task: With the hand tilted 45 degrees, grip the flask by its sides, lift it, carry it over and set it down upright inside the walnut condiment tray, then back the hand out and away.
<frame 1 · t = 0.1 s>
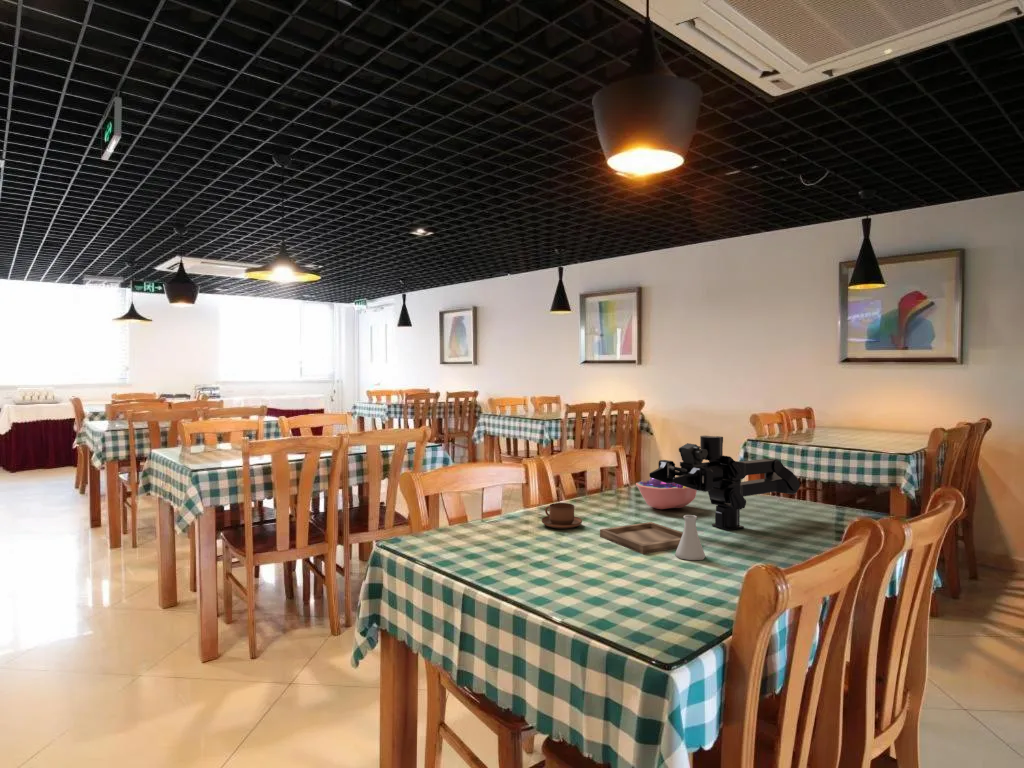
hand: (661, 477, 164), 17 cm above the table, tool horizontal, fingers open, 9 cm apart
cell model: (666, 509, 201), on the table
flask: (690, 557, 148), on the table
walnut tray: (647, 540, 162), on the table
cup and saucer: (561, 527, 178), on the table
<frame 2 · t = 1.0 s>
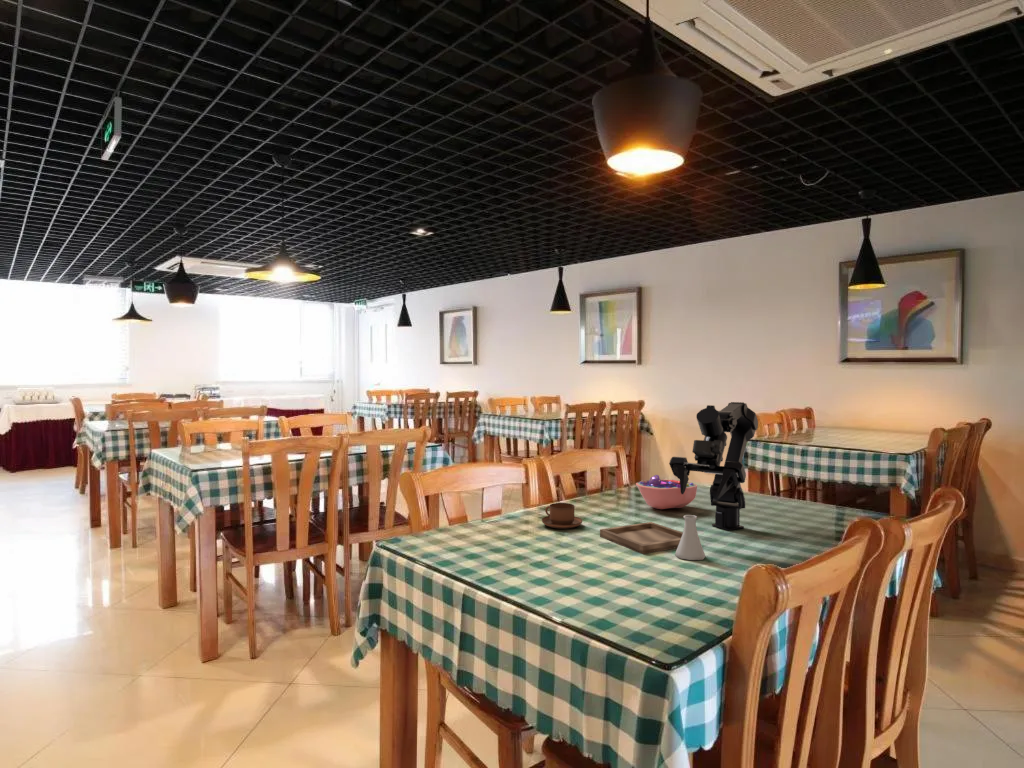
hand: (699, 495, 154), 14 cm above the table, tool tilted 45°, fingers open, 9 cm apart
nothing on the table moved.
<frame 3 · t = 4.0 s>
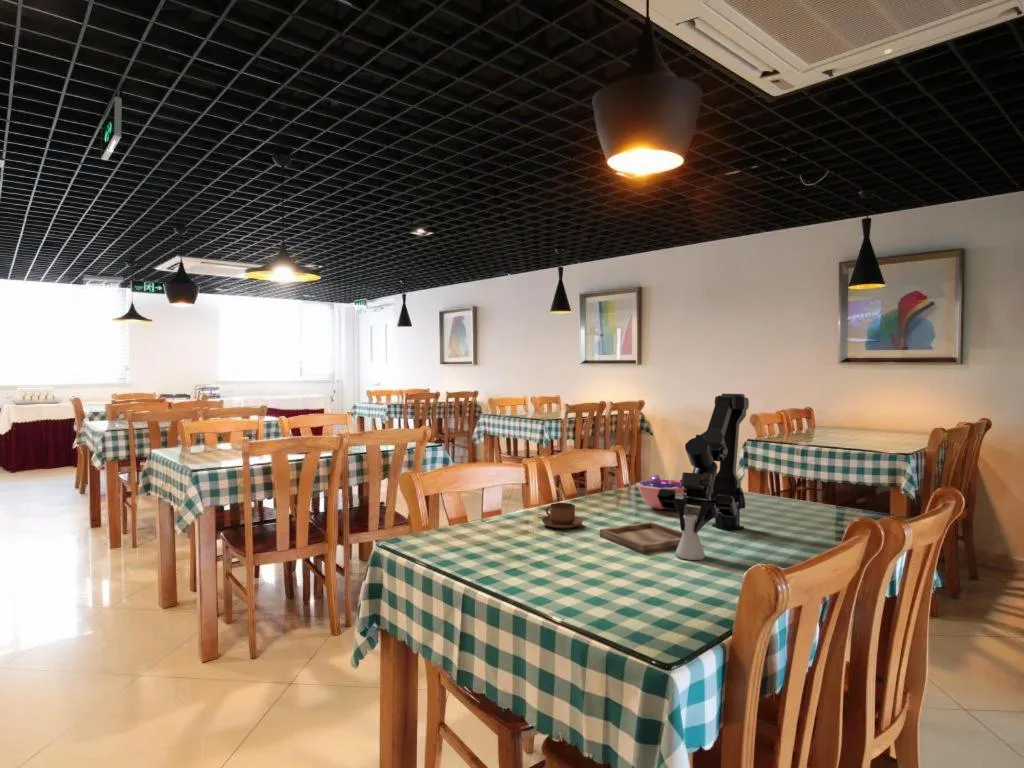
hand: (688, 531, 147), 7 cm above the table, tool tilted 45°, fingers closed on flask, 3 cm apart
flask: (690, 557, 148), on the table, touching gripper
everything else where it was.
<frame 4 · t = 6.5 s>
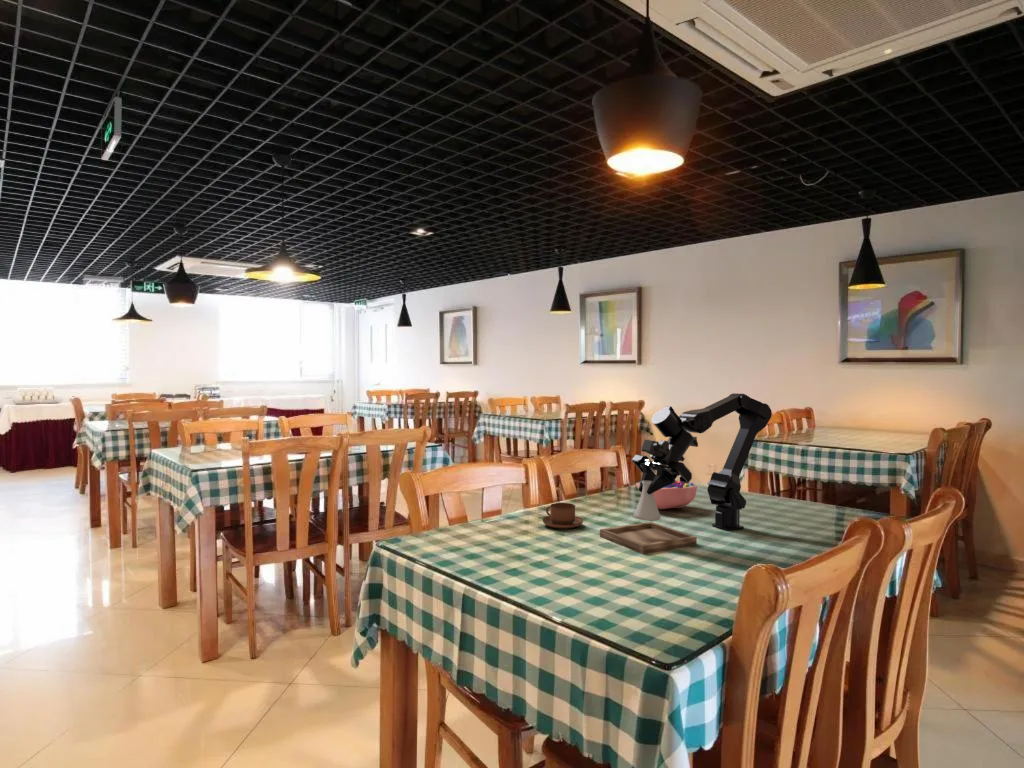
hand: (643, 492, 161), 13 cm above the table, tool tilted 45°, fingers closed on flask, 3 cm apart
flask: (646, 519, 162), point 6 cm above the table, touching gripper
everything else where it was.
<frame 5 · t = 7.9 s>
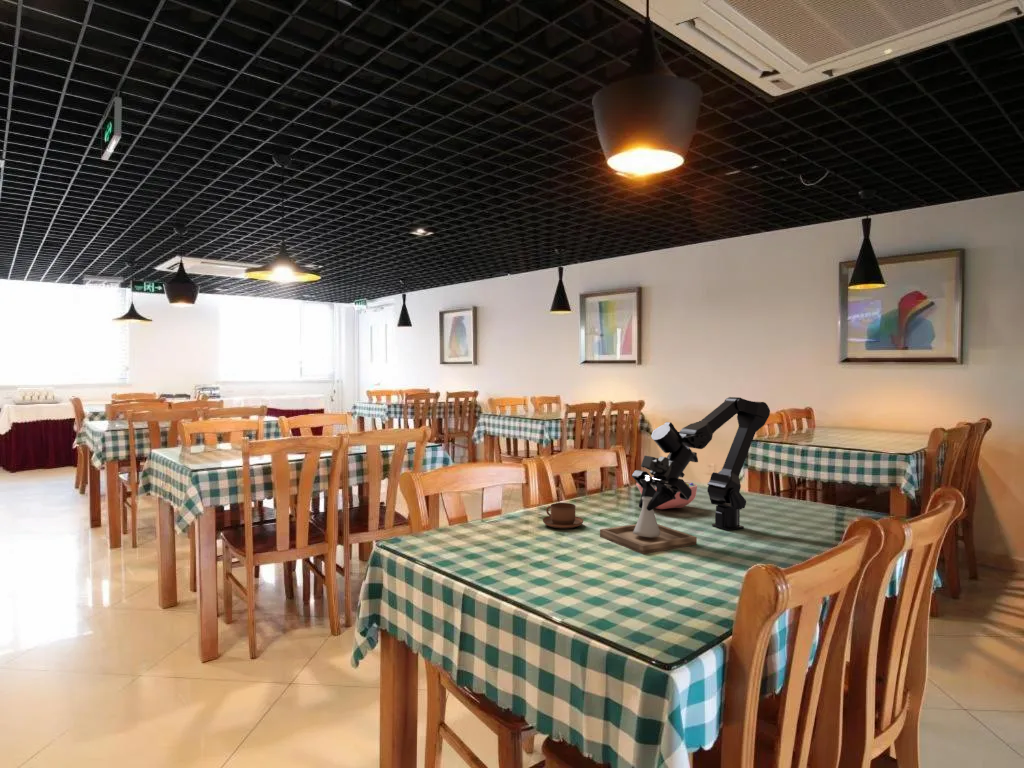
hand: (643, 508, 162), 9 cm above the table, tool tilted 45°, fingers closed on flask, 3 cm apart
flask: (646, 535, 162), point 1 cm above the table, touching gripper
everything else where it was.
when the fingers open (9 cm above the table, at t = 8.1 s): flask stays where it is, resting on walnut tray.
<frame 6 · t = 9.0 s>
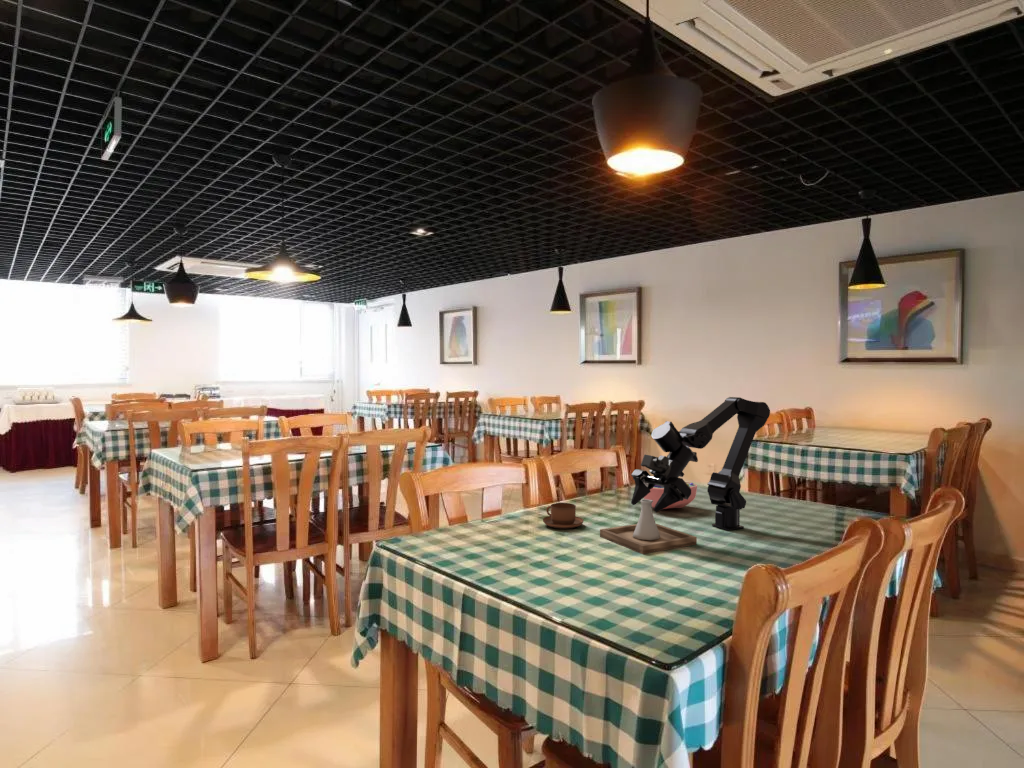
hand: (643, 507, 161), 9 cm above the table, tool tilted 45°, fingers open, 9 cm apart
flask: (646, 538, 162), point 1 cm above the table, touching walnut tray
everything else where it was.
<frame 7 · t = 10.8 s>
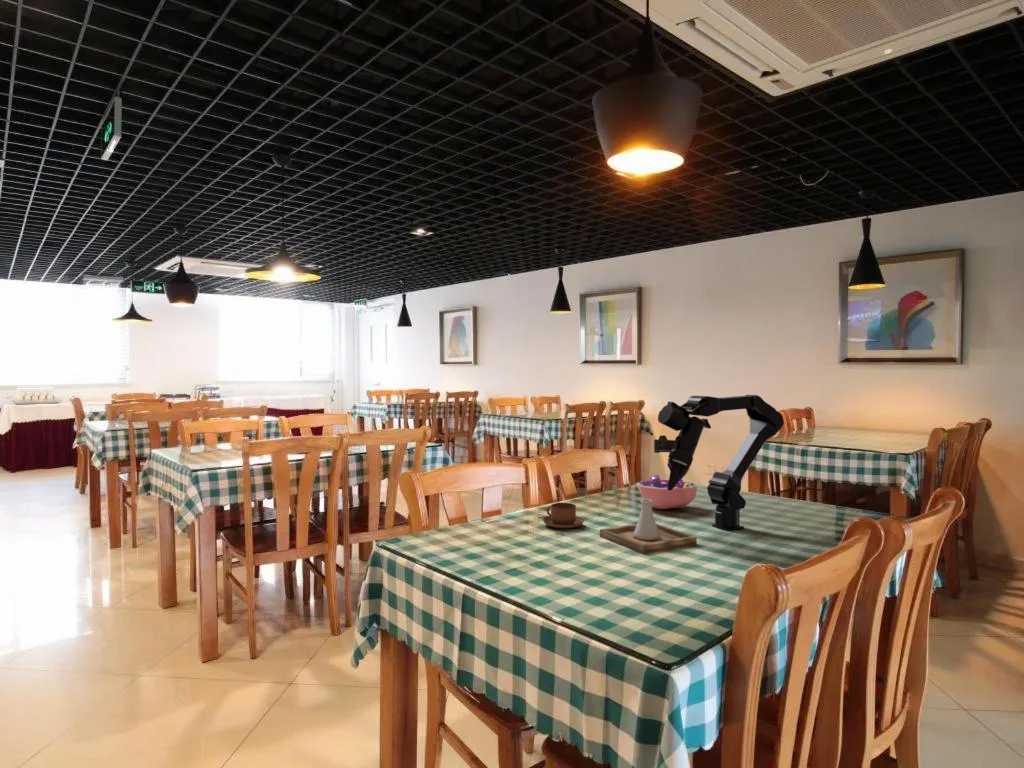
hand: (669, 488, 169), 13 cm above the table, tool tilted 25°, fingers open, 9 cm apart
nothing on the table moved.
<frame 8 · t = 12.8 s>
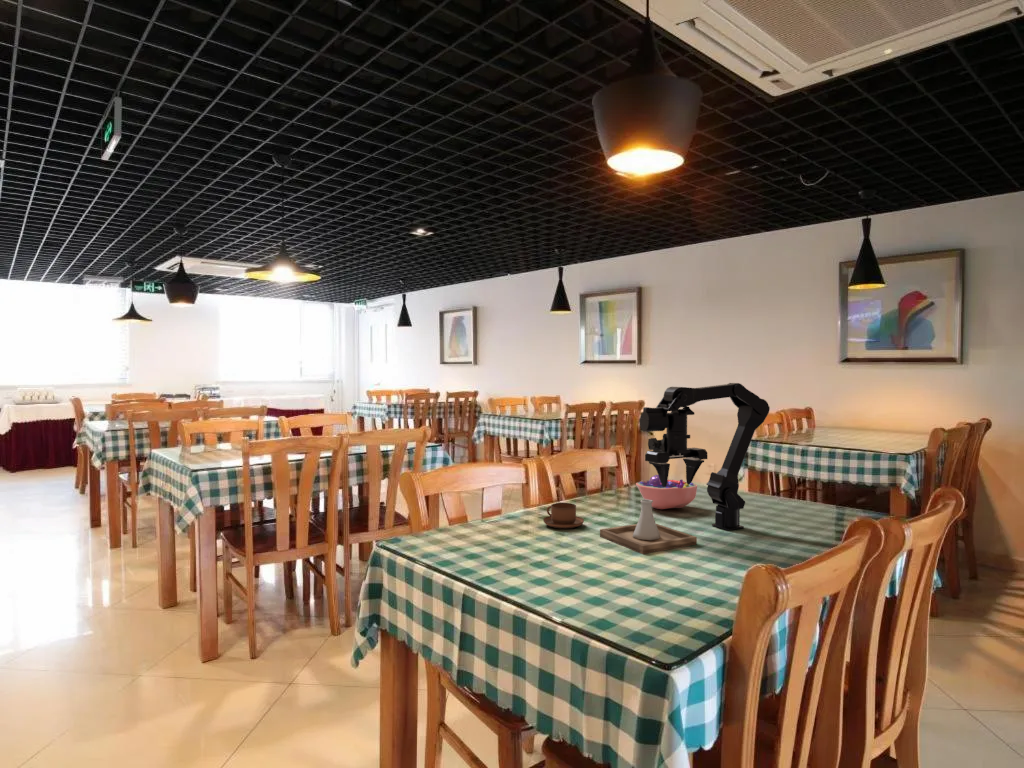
hand: (676, 485, 172), 13 cm above the table, tool pointing down, fingers open, 9 cm apart
nothing on the table moved.
at the end: flask inside the target area on the walnut tray (0.2 cm from its centre), point 0.6 cm above the walnut tray's base; flask tilted 0°; the gripper is holding nothing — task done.
